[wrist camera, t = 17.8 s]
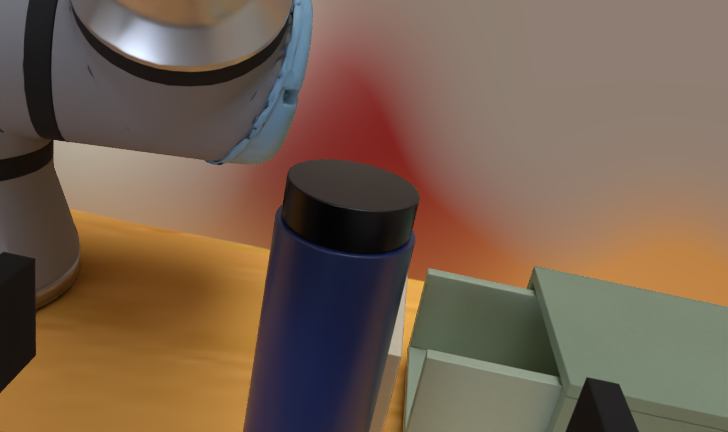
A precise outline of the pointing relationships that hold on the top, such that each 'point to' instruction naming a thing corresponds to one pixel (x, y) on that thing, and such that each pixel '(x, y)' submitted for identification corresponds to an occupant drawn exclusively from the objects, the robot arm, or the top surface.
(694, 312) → the cabinet
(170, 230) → the top surface
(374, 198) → the flask
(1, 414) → the top surface
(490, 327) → the drawer
